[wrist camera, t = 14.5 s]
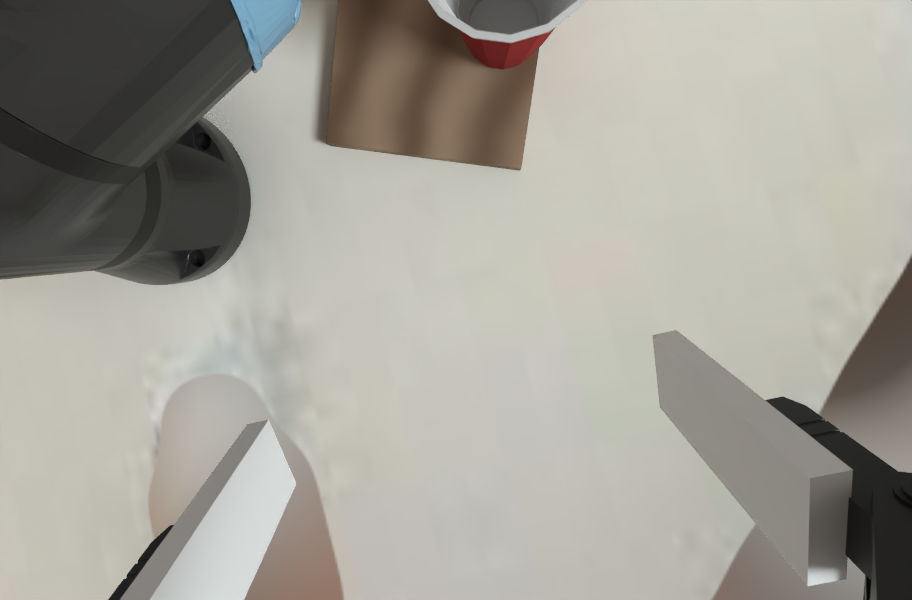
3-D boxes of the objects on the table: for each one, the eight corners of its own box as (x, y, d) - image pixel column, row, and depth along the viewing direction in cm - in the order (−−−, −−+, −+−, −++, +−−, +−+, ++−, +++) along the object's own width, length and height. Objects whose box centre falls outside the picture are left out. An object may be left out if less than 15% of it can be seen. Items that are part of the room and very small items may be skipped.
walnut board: (331, 145, 38) (326, 142, 36) (354, -121, 35) (349, -133, 33) (519, 170, 37) (521, 168, 36) (559, -98, 34) (562, -110, 33)
